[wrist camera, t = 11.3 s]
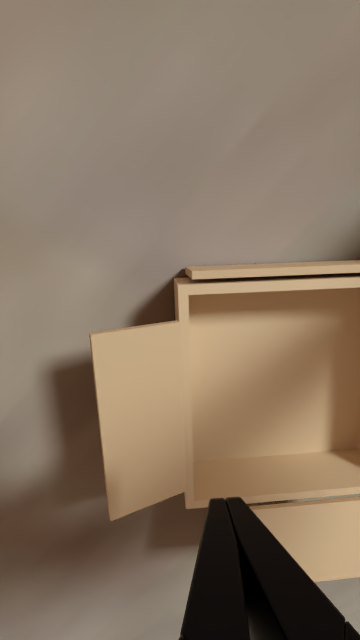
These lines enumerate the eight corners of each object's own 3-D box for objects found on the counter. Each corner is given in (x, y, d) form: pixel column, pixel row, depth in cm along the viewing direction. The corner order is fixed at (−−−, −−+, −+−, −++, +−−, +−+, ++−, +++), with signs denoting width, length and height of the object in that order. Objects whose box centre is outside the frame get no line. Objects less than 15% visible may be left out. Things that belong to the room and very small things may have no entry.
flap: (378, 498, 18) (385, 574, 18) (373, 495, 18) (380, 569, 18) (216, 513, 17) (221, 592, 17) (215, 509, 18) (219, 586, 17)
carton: (390, 258, 19) (447, 260, 15) (367, 449, 22) (409, 489, 18) (173, 266, 18) (177, 271, 14) (180, 464, 21) (185, 509, 18)
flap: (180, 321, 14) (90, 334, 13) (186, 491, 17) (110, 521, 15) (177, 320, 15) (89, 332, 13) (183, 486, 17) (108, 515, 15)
